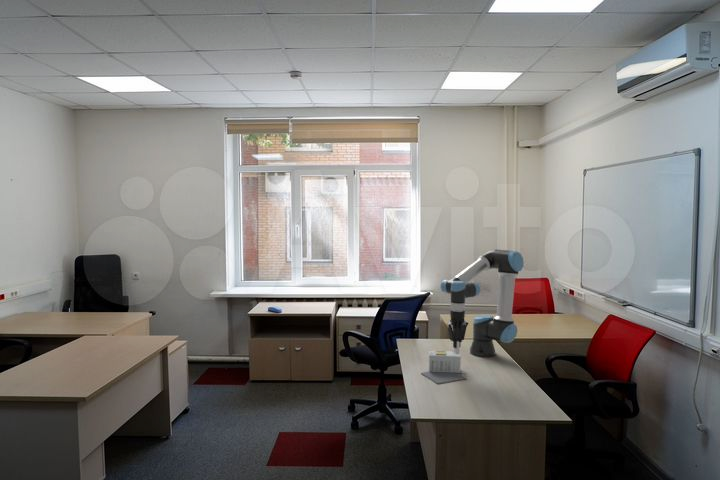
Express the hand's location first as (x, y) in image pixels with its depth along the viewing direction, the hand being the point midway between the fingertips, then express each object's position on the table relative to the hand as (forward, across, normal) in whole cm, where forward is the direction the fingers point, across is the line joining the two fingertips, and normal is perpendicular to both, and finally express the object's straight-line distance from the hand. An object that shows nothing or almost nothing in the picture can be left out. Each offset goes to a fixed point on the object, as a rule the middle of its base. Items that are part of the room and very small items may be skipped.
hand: (456, 353), depth 252 cm
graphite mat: (+12, +8, 0) cm, 14 cm away
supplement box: (+6, -5, -3) cm, 8 cm away
